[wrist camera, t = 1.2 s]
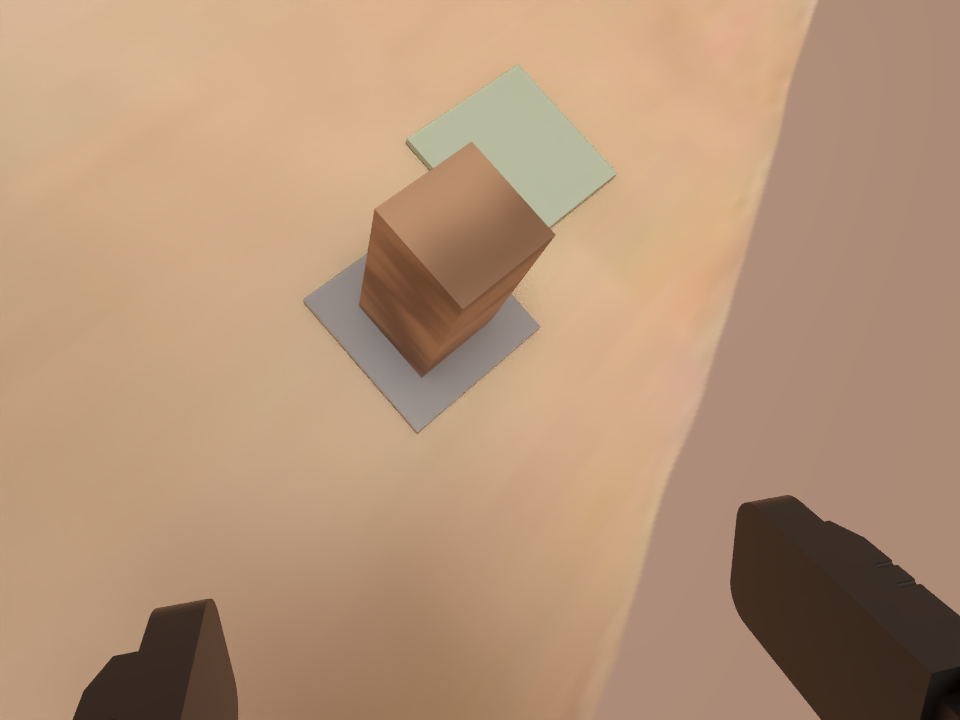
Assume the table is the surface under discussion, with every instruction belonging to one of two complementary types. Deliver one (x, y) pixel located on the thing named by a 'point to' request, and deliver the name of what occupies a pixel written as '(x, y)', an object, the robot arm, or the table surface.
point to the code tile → (389, 367)
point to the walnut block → (447, 257)
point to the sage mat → (520, 144)
